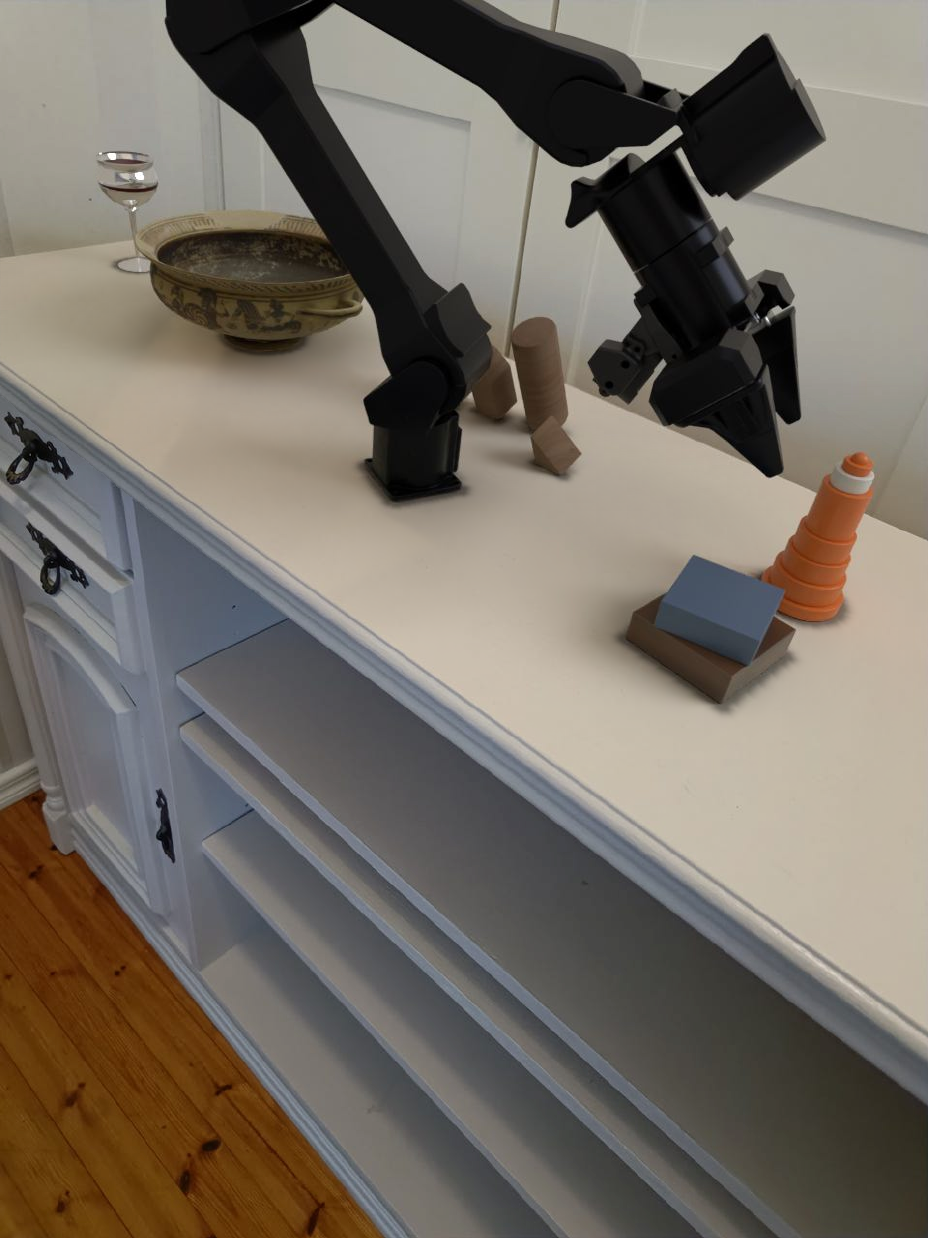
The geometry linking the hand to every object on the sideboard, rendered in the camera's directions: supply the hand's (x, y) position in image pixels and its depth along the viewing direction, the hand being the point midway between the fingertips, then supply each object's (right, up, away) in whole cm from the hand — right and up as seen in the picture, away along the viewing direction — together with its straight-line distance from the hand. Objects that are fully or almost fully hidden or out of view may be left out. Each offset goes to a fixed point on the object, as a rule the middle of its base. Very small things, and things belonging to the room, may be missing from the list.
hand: (786, 446), depth 59 cm
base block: (-6, -14, 0) cm, 15 cm away
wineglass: (-63, +32, +46) cm, 84 cm away
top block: (-5, -12, -2) cm, 13 cm away
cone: (+3, -10, +6) cm, 12 cm away
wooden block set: (-18, +6, +23) cm, 30 cm away
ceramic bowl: (-44, +19, +33) cm, 58 cm away
